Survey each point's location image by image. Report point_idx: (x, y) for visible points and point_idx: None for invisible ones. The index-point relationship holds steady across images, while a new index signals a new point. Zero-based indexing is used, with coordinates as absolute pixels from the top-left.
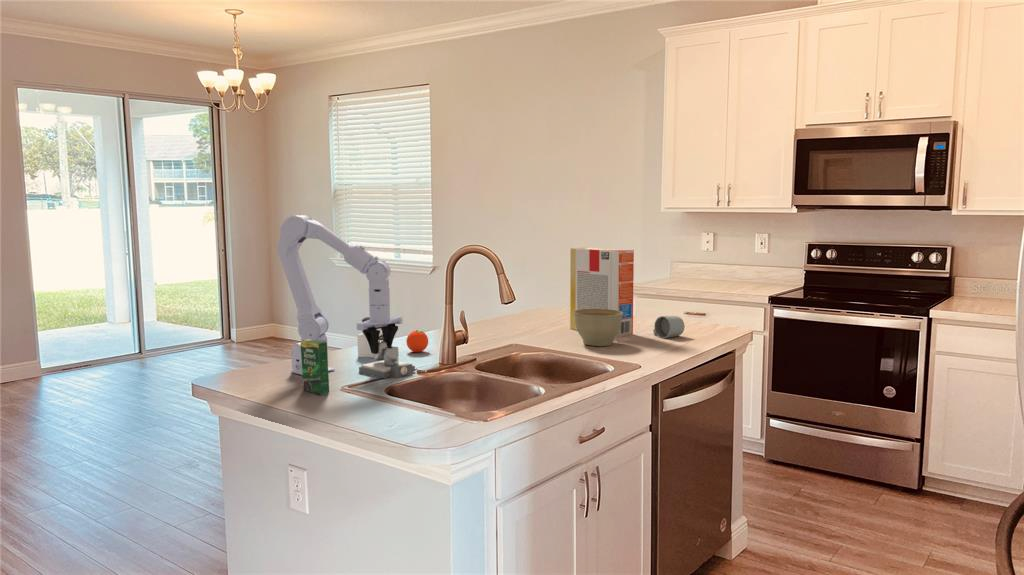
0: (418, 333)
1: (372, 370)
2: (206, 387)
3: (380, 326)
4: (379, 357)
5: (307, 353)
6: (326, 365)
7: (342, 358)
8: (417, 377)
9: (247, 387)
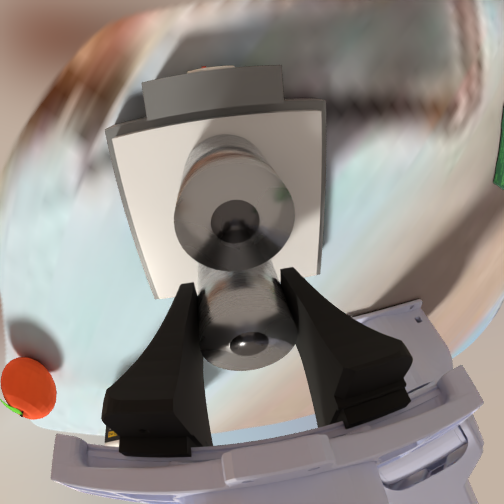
0: (18, 402)
1: (324, 187)
2: (499, 307)
3: (275, 439)
4: None
5: None
6: None
7: (231, 402)
8: (177, 9)
9: (498, 276)
